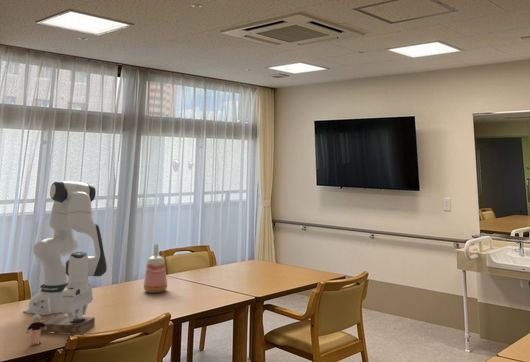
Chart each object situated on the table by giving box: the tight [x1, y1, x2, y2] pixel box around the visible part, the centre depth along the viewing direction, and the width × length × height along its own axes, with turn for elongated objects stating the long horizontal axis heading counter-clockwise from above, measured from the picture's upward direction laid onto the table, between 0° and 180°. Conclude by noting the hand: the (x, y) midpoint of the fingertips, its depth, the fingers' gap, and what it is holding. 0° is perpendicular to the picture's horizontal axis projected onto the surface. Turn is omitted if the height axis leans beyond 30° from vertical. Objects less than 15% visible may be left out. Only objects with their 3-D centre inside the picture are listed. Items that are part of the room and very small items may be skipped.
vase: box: [143, 243, 168, 294], centre depth 264 cm, size 14×14×30 cm
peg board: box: [40, 314, 96, 335], centre depth 195 cm, size 20×12×4 cm, turn 84°
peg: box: [73, 306, 84, 323], centre depth 195 cm, size 4×4×10 cm
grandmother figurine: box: [25, 314, 47, 346], centre depth 177 cm, size 8×4×13 cm, turn 138°
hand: (77, 317), depth 194 cm, fingers open, 8 cm apart
